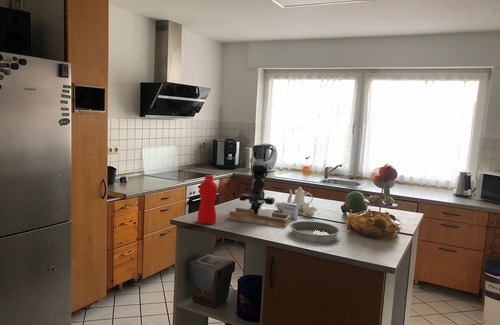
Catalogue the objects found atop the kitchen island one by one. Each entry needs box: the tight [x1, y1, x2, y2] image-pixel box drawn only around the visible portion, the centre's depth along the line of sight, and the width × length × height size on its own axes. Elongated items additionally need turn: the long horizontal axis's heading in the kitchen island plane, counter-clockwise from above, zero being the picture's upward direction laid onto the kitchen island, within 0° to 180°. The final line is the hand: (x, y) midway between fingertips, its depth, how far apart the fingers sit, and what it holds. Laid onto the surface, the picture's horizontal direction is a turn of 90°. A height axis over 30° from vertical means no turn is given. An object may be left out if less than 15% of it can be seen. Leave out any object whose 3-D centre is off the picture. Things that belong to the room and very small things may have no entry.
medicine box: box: [282, 201, 299, 221], centre depth 223 cm, size 8×4×9 cm, turn 62°
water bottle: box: [197, 174, 218, 225], centre depth 203 cm, size 9×11×25 cm
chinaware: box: [274, 186, 320, 218], centre depth 236 cm, size 28×17×17 cm, turn 70°
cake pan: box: [289, 220, 341, 243], centre depth 192 cm, size 25×25×4 cm
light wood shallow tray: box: [227, 207, 292, 229], centre depth 214 cm, size 14×32×4 cm, turn 72°
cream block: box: [258, 206, 273, 217], centre depth 213 cm, size 6×6×5 cm
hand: (255, 214), depth 215 cm, fingers closed
